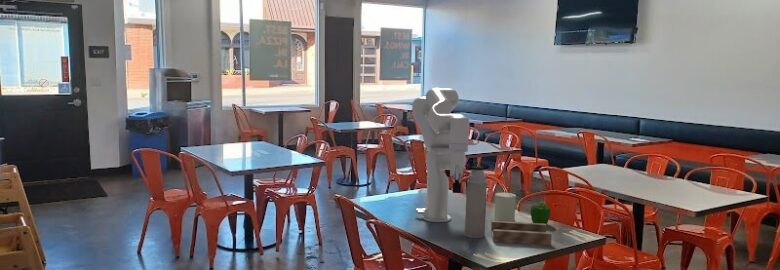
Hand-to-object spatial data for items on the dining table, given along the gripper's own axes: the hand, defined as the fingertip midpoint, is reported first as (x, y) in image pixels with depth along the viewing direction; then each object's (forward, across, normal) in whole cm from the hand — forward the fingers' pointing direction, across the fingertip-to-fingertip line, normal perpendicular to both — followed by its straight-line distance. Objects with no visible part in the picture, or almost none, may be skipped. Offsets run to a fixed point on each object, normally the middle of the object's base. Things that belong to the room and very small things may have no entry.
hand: (456, 192), depth 238 cm
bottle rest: (+17, 0, +26) cm, 31 cm away
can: (+17, -28, +22) cm, 39 cm away
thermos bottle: (+17, 0, +8) cm, 19 cm away
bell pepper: (+17, -25, +37) cm, 47 cm away
